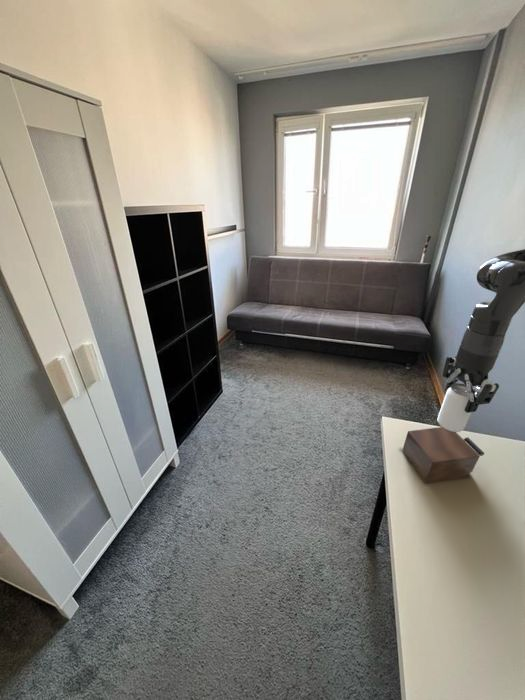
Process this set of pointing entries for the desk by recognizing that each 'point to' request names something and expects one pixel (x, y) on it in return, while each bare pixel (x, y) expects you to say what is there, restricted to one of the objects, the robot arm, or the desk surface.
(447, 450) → the cabinet
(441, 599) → the desk surface
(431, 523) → the desk surface
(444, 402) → the can
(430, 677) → the desk surface
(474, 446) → the drawer
